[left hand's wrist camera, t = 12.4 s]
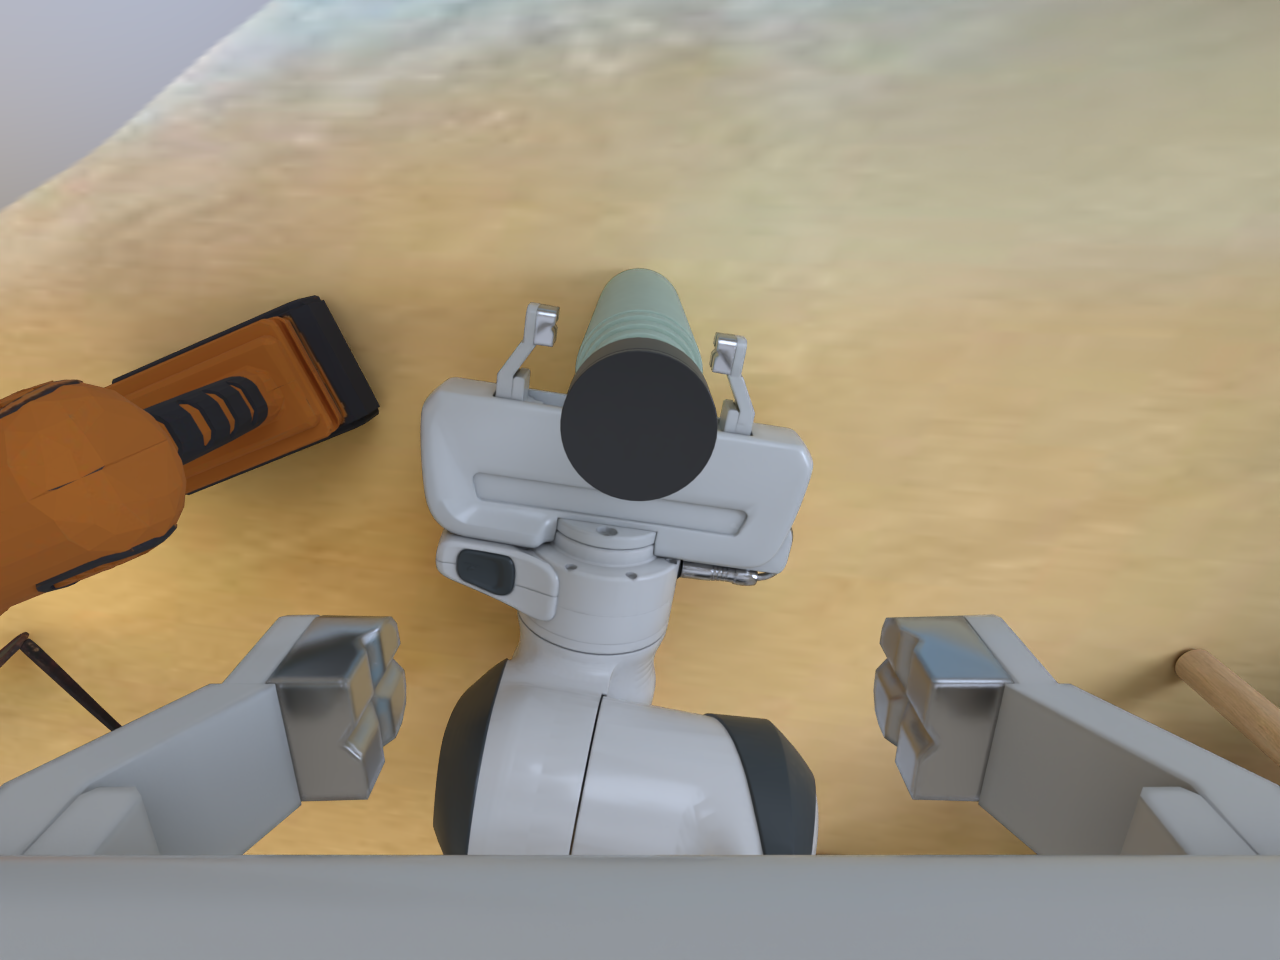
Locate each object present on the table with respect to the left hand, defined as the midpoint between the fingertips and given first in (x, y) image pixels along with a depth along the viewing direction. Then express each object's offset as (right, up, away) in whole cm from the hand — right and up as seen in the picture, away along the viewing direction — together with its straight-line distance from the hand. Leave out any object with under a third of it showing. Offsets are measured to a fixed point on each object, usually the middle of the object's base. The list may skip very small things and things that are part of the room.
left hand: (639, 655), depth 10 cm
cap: (0, +4, +10) cm, 11 cm away
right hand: (0, +10, +26) cm, 28 cm away
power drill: (-24, +7, +33) cm, 42 cm away
